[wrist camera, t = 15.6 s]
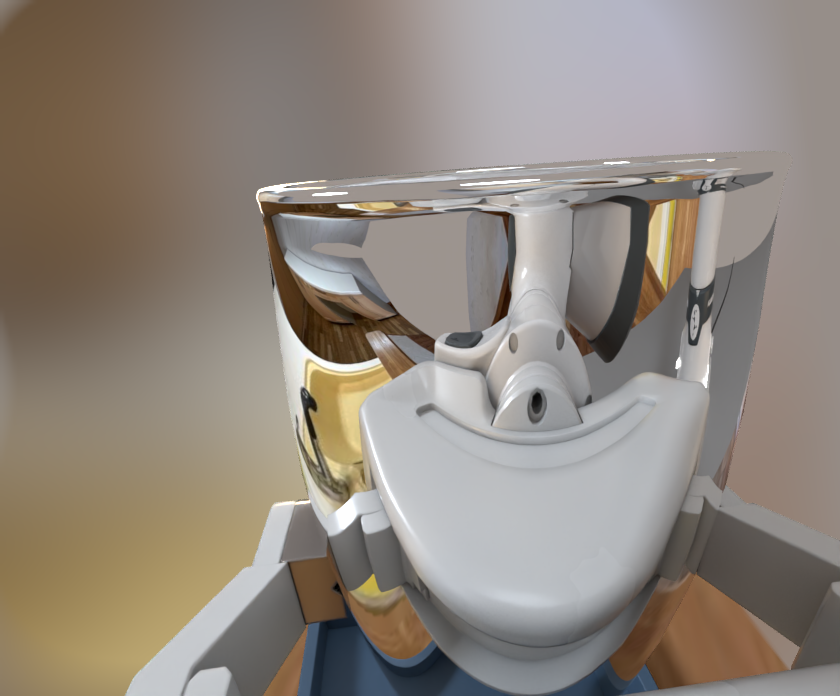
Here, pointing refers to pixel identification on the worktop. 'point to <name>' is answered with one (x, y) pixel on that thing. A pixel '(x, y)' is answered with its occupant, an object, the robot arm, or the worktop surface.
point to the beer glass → (520, 402)
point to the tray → (365, 664)
